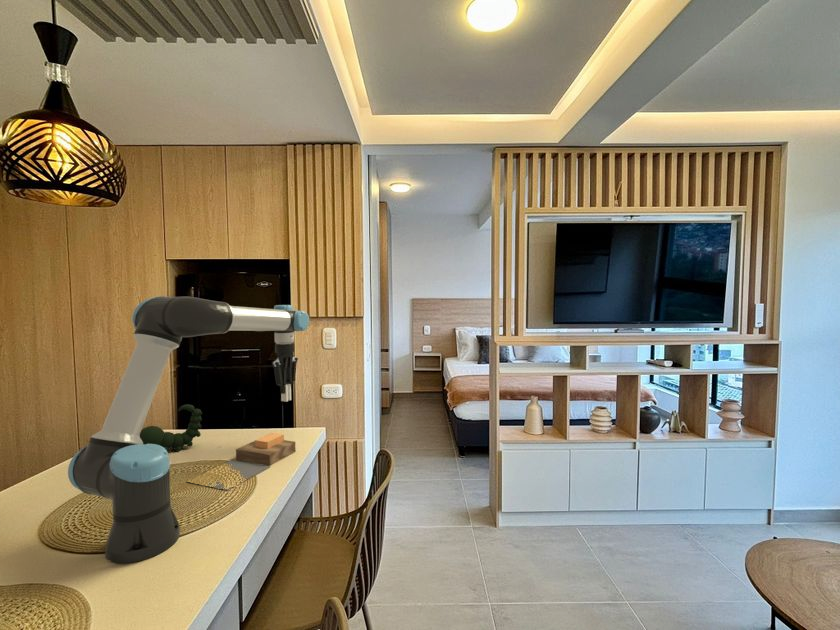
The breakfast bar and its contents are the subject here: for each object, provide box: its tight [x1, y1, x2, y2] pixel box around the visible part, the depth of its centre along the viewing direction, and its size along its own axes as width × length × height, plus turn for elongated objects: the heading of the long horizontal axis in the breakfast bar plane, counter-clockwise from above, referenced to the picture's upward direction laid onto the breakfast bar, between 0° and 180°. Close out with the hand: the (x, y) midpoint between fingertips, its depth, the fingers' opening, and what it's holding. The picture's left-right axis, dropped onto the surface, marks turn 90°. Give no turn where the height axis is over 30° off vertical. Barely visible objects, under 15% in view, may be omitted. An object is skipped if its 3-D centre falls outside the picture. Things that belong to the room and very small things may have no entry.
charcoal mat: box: [209, 459, 271, 491], centre depth 139 cm, size 19×18×1 cm
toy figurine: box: [139, 403, 203, 452], centre depth 161 cm, size 9×19×25 cm
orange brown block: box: [254, 432, 285, 449], centre depth 157 cm, size 9×6×2 cm, turn 158°
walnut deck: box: [235, 439, 297, 467], centre depth 155 cm, size 14×16×4 cm
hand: (286, 400), depth 166 cm, fingers closed
